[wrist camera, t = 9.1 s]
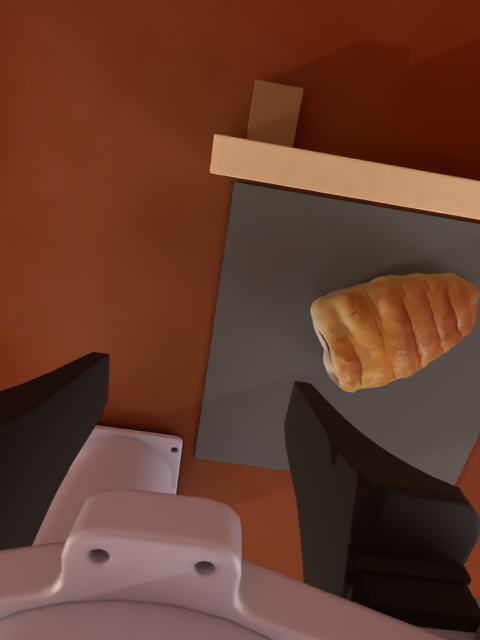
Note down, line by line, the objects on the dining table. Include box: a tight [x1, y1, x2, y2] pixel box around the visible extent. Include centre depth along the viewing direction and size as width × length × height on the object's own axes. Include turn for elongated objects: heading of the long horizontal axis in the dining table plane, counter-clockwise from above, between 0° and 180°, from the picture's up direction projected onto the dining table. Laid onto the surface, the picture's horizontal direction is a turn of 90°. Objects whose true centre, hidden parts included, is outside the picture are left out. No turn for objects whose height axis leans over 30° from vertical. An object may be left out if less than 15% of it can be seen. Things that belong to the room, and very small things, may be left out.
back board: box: [210, 80, 480, 219], centre depth 17 cm, size 4×22×5 cm, turn 81°
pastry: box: [310, 273, 479, 393], centre depth 21 cm, size 9×7×4 cm
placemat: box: [194, 182, 480, 485], centre depth 24 cm, size 20×20×1 cm
